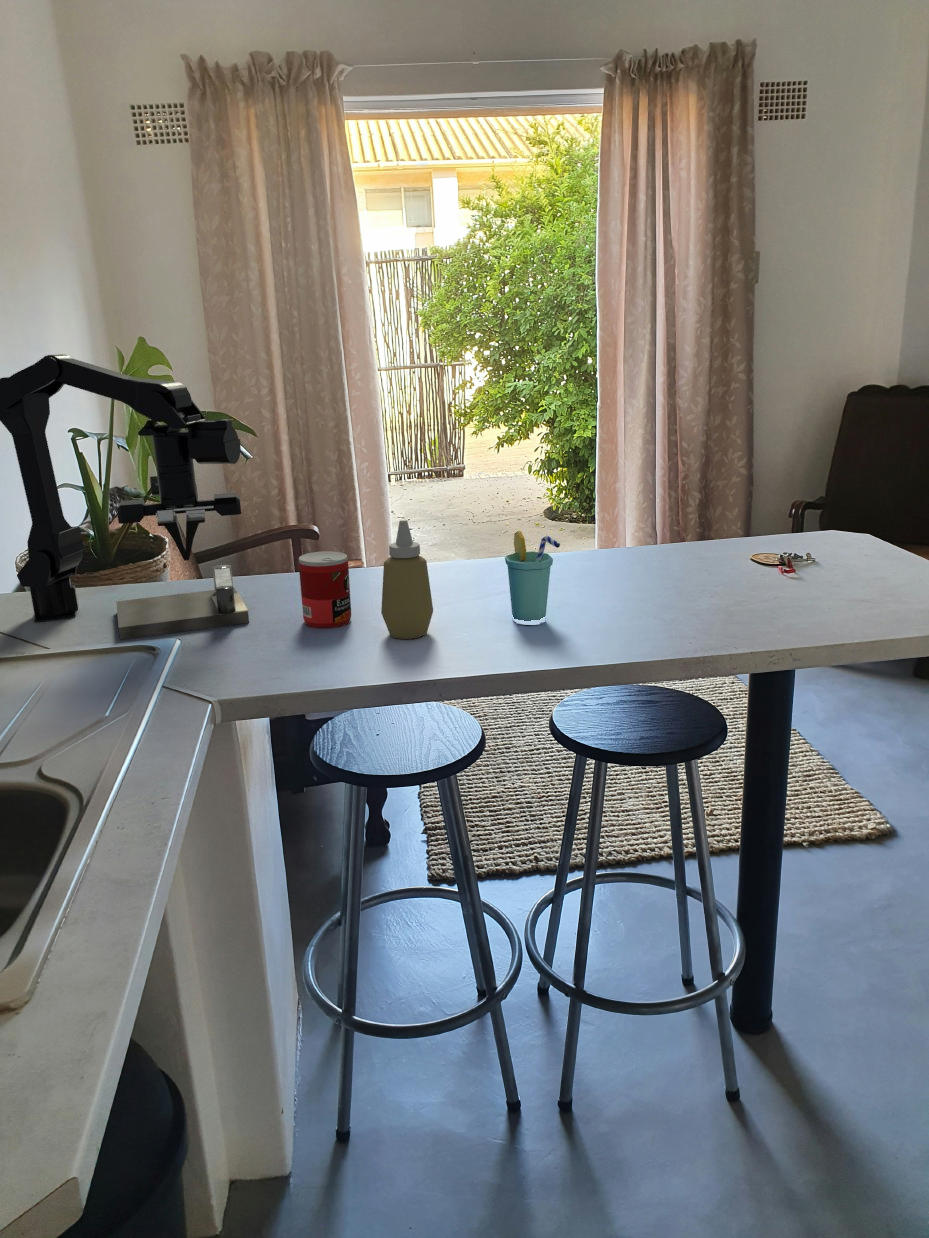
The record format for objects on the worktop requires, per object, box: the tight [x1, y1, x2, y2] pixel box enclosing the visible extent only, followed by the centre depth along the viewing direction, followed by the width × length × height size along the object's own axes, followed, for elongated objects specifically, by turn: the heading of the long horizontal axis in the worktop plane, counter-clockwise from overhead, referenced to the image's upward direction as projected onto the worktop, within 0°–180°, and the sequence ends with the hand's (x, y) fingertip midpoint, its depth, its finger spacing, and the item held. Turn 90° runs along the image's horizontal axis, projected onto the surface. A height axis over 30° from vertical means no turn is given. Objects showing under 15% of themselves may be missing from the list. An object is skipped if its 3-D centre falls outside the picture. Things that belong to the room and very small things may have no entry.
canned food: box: [298, 550, 352, 629], centre depth 145 cm, size 8×8×11 cm
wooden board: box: [115, 587, 250, 641], centre depth 150 cm, size 20×16×2 cm
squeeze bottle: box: [380, 519, 434, 640], centre depth 137 cm, size 8×8×18 cm
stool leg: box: [211, 564, 236, 614], centre depth 151 cm, size 18×3×4 cm, turn 16°
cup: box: [504, 530, 561, 621], centre depth 142 cm, size 14×8×15 cm, turn 30°
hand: (186, 560), depth 146 cm, fingers closed
